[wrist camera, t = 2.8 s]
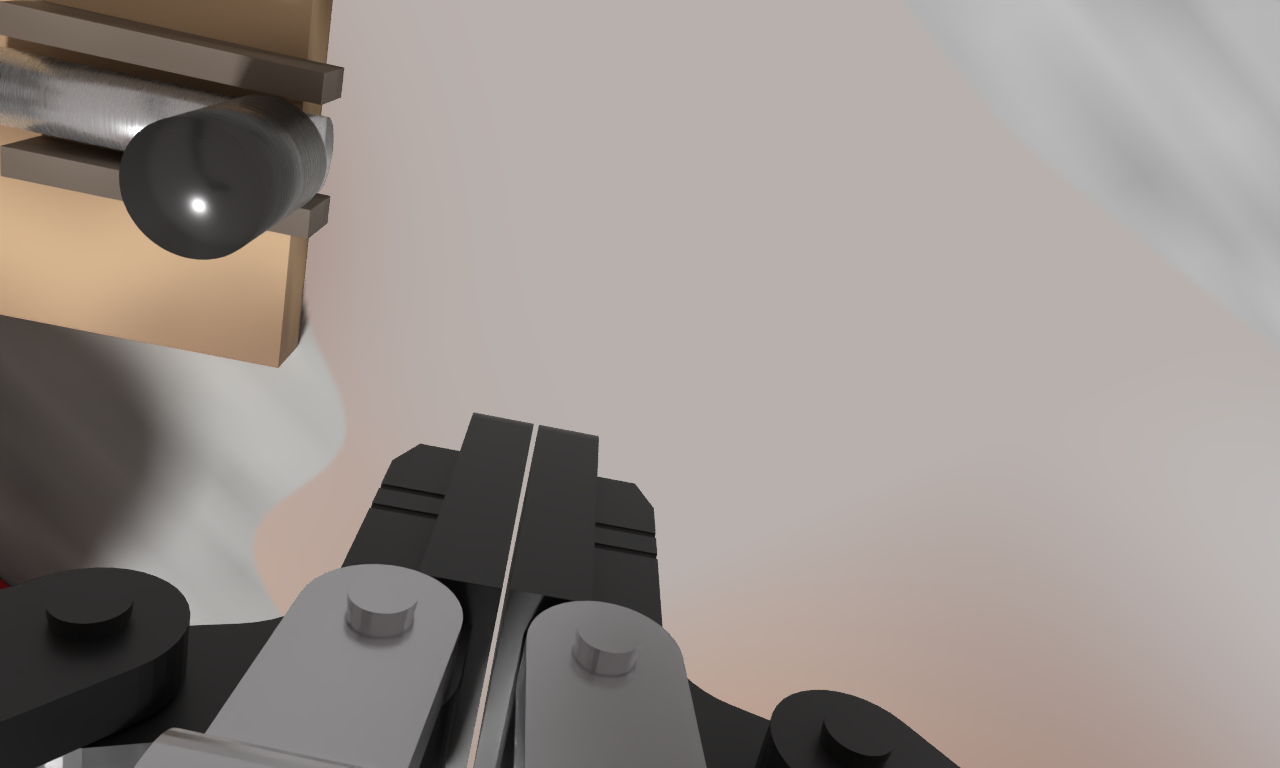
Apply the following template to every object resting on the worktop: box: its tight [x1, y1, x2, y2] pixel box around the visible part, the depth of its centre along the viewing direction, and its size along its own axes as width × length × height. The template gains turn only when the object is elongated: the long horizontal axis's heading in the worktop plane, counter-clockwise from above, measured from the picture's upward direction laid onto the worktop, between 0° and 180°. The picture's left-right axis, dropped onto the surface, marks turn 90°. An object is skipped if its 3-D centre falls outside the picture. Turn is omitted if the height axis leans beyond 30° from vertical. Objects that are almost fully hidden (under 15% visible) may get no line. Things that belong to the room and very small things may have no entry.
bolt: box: [0, 46, 333, 260], centre depth 24 cm, size 3×10×7 cm, turn 78°
